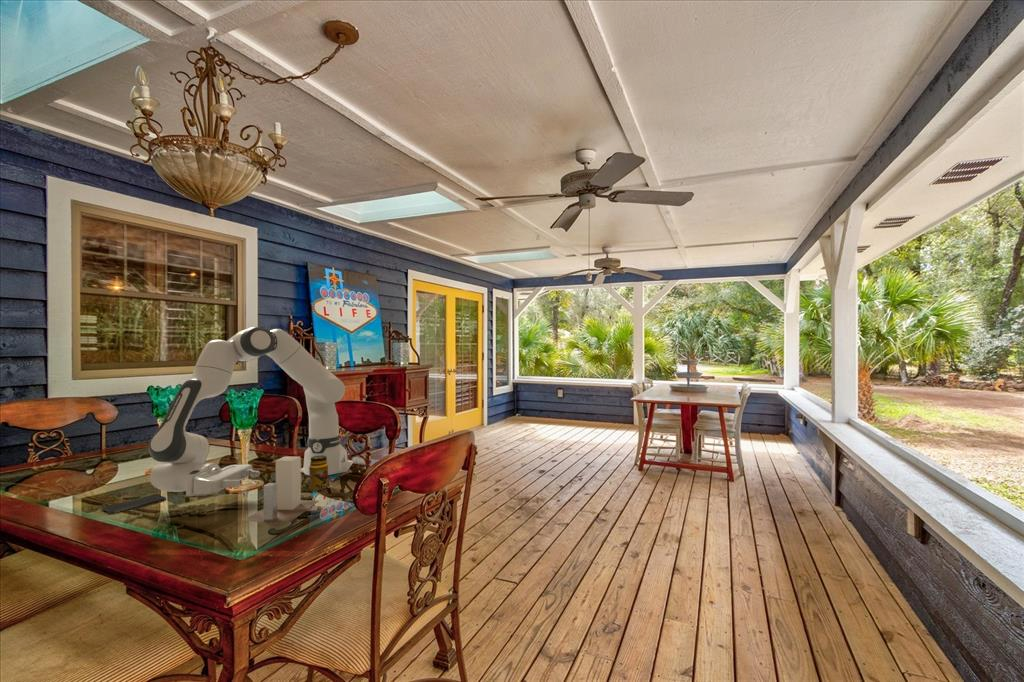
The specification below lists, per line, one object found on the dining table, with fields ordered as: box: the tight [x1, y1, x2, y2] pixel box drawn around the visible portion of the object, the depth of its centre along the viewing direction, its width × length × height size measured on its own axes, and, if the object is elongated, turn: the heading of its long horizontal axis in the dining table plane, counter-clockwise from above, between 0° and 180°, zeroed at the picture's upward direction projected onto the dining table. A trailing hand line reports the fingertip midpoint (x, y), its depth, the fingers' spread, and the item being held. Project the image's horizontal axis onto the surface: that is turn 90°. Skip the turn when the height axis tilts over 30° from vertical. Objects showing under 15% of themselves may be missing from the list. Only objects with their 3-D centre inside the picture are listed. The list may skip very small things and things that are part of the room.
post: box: [263, 482, 277, 521], centre depth 136 cm, size 3×3×10 cm
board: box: [243, 499, 319, 523], centre depth 143 cm, size 18×14×1 cm
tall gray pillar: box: [275, 455, 302, 510], centre depth 146 cm, size 5×5×15 cm
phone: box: [101, 494, 167, 514], centre depth 151 cm, size 8×1×15 cm
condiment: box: [308, 455, 329, 492], centre depth 165 cm, size 7×8×12 cm
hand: (249, 478), depth 146 cm, fingers open, 8 cm apart
